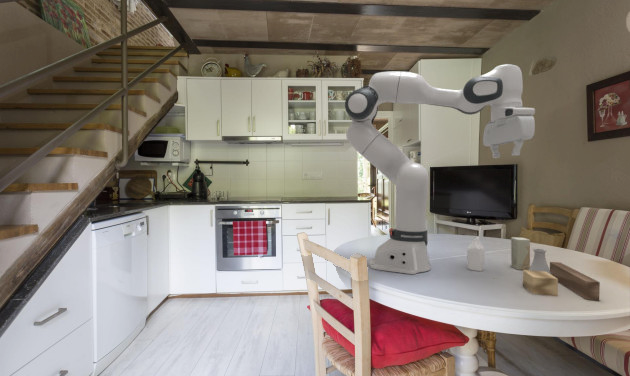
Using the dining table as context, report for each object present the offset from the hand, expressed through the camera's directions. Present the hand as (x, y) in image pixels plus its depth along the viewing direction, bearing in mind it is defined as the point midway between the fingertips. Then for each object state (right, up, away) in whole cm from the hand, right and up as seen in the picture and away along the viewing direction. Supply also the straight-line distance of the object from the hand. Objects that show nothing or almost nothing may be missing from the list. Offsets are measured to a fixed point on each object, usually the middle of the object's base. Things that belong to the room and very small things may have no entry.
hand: (505, 156), depth 98 cm
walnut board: (+14, -41, -9) cm, 44 cm away
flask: (+10, -41, -2) cm, 42 cm away
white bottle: (-4, -40, +10) cm, 42 cm away
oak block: (+3, -41, -12) cm, 43 cm away
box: (+12, -40, +11) cm, 44 cm away
